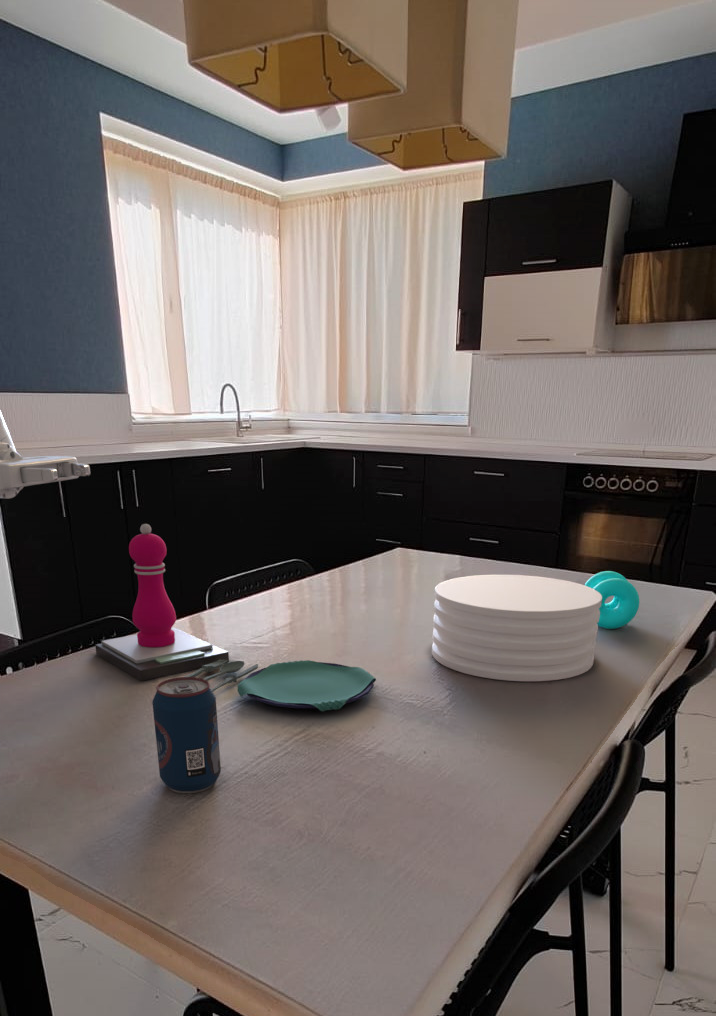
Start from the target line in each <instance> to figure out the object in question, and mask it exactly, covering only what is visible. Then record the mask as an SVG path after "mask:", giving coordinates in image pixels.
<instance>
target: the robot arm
mask: <svg viewBox="0 0 716 1016" xmlns="http://www.w3.org/2000/svg"><path fill="white" fill-rule="evenodd" d="M3 416H4V415H3V413H2V411H1V410H0V499H7V500H8V499H9V500H10V499H13V498H15V497H16V496H18V494H19V493H20V491H22V490H23V489H24V487H31V486H36V485H42V484H50V483H58V482H63V481H69V480H75V479H78V478H79V477H87V476H88V477H89V476H91V467H90V465H89V464H88V463H79V462H78V459H77V458H76V457H75V456H69V455H67V456H65V455H63V456H62V455H42V456H39V455H38V456H27V457H23V456H21V454H20V453H18V452H17V449H16V447H15V444H14V442H13V439H12V436H11V434H10V431H9V429H8V426H7V423H6V422H5V419H4V417H3Z"/></svg>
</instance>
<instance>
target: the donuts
mask: <svg viewBox="0 0 716 1016" xmlns="http://www.w3.org/2000/svg"><path fill="white" fill-rule="evenodd" d="M584 585H585V586H588V587H590V588H592V589H594V590H596V591H598V592H599V593H600V594H601V595H602V603H601V607H600V608H599V610H600V617H599V622H598V623H597V625H598V627H600V628H601V629H602V628H603V629H607V630H615V629H619V628H622V627H625V626H626V625H627V624H629V623H630V622H632V620H633V619H634V618H635V616H636V615H637V614H638V611H639V608H640V595H639V592H638V590H637V588H636V587H635V586H634V585H633V584H632V583H631V582H630V581H628V580H627V578H626V577H625V576H624V575H622V574H621V573H619V572H616V571H612V570H605V571H600V572H597V573H595V574H594V575H592V576H591V577H589V579H587V580H586V582H585V584H584ZM609 597H613V598H612V600H611V601H610V602H607V603H606V600H607V599H608V598H609Z"/></svg>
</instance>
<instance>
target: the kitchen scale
mask: <svg viewBox="0 0 716 1016" xmlns="http://www.w3.org/2000/svg"><path fill="white" fill-rule="evenodd" d="M171 630H173V631H174V633H175V642H174V643H173V644H171V645H168V646H164V647H144V646H141V645H139V644H138V638H137V634H133V635H132V634H131V635H126V636H120V637H115V638H109V639H104V640H101V643H97V644H95V645H94V646H95V654H96V655H97V656H98V657H100V658H102V659H103V660H105V661H107V662H108V663H110V664H112V665H114V666H115V667H117V668H118V669H120V670H122V671H124V672H125V673H127V674H129V675H130V676H132V677H134V678H136V679H138V681H141V682H145V681H148V680H153V679H158V678H161V677H162V678H163V677H167V676H172V675H175V674H181V673H185V672H189V671H193V670H199V669H200V668H202V665H207V664H210V663H213V662H216V661H218V660H220V659H221V661H222V660H225V661H226V660H228V661H227V662H226V663H229V662H230V655H229V654H230V653H229V651H228V650H225V649H222V648H220V647H218V646H217V645H214V644H212V643H209V642H207V641H205V640H202V639H200V638H198V637H196V636H194V635H191V634H190V633H188V632H185V631H183V630H180V629H179V628H175V627H172V628H171Z"/></svg>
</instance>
